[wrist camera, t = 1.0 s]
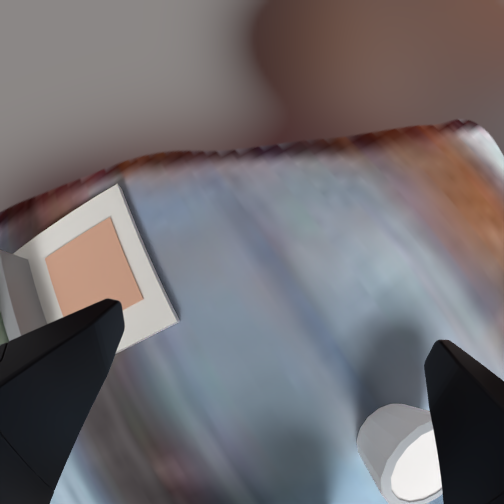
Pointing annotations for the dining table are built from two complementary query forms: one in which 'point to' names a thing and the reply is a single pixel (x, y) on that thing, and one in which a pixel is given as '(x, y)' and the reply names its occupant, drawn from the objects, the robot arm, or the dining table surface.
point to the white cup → (401, 454)
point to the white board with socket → (85, 272)
